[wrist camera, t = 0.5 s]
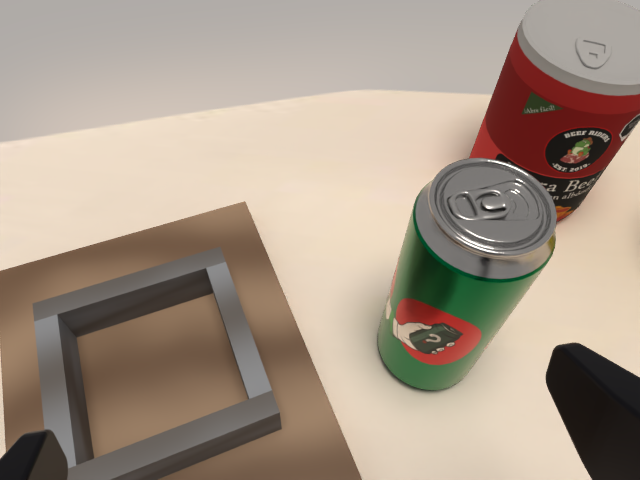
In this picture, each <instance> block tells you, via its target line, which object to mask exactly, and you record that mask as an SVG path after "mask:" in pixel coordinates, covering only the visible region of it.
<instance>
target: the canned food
mask: <svg viewBox="0 0 640 480" xmlns="http://www.w3.org/2000/svg"><path fill="white" fill-rule="evenodd" d="M639 121H640V10H638V9H636V8H634V7H632V6H630V5H627V4H624V3H621V2H619V1H616V0H540V1H538V2H537V3H535V4H534V5H532V6H531V7H530V8H529V9H528V10H527V11H526V13H525V15H524V17H523V19H522V21H521V23H520V25H519V27H518V29H517V32H516V35H515V37H514V40H513V42H512V44H511V47H510V49H509V52H508V55H507V57H506V60H505V63H504V66H503V68H502V71H501V74H500V76H499V79H498V82H497V85H496V87H495V90H494V93H493V95H492V98H491V101H490V103H489V106H488V109H487V111H486V114H485V117H484V120H483V122H482V125H481V128H480V130H479V133H478V136H477V138H476V141H475V144H474V147H473V149H472V152H471V155H470V157H469V158H490V159H496V160H500V161H504V162H507V163H510V164H512V165H515V166H517V167H519V168H521V169H523V170H525V171H526V172H528V173H529V174H531V175H532V176H533V177H535V178H536V179H537V180H538V181H539V182H540V183H541V184H542V185H543V186H544V187H545V188H546V190H547V191H548V192H549V194H550V195H551V197H552V199H553V202H554V204H555V208H556V213H557V221H559V220H561V219H563V218H564V217H566V216H567V215H569V214H570V213H572V212H573V211H574V210H575V209H576V208H577V207H579V206H580V204H581V203H582V201H583V200H584V198H585V197H586V196H587V194H588V193H589V191H590V190H591V189H592V187H593V186H594V184H595V183H596V181H597V180H598V179H599V177H600V176H601V174H602V173H603V172H604V170H605V169H606V167H607V166H608V164H609V163H610V162H611V160H612V159H613V157H614V156H615V155H616V153H617V152H618V150H619V149H620V148H621V146H622V145H623V143H624V142H625V140H626V139H627V138H628V136H629V135H630V133H631V132H632V131H633V129H634V128H635V126H636V125H637V123H638V122H639ZM557 221H556V222H557Z"/></svg>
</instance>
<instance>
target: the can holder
mask: <svg viewBox="0 0 640 480" xmlns="http://www.w3.org/2000/svg"><path fill="white" fill-rule="evenodd" d="M0 349H1V367H2V386H3V405H4V424H5V443H6V452H7V451H8V450H9V449H10V447H11V446H12V445H13V444H14V443H15V442H16V441H17V439H18V438H19V437H20V436H22V435H23V434H25V433H27V432H32V431H38V430H44V429H49V430H51V431H53V433H54V434H55V436H56V438H57V440H58V442H59V444H60V446H61V448H62V450H63V452H64V454H65V456H66V458H67V462H68V477H67V480H362V479H361V476H360V474H359V471H358V469H357V467H356V464H355V462H354V460H353V457H352V455H351V452H350V450H349V448H348V445H347V443H346V440H345V438H344V436H343V433H342V431H341V429H340V426H339V424H338V421H337V419H336V417H335V414H334V412H333V410H332V407H331V405H330V402H329V400H328V398H327V395H326V393H325V390H324V388H323V386H322V383H321V381H320V379H319V376H318V374H317V371H316V369H315V367H314V364H313V362H312V360H311V357H310V355H309V352H308V350H307V348H306V345H305V343H304V340H303V338H302V336H301V333H300V331H299V329H298V326H297V324H296V321H295V319H294V317H293V314H292V312H291V310H290V307H289V305H288V302H287V300H286V298H285V295H284V293H283V290H282V288H281V286H280V283H279V281H278V279H277V276H276V274H275V271H274V269H273V267H272V264H271V262H270V260H269V257H268V255H267V252H266V250H265V248H264V245H263V243H262V240H261V238H260V236H259V233H258V231H257V229H256V226H255V224H254V221H253V219H252V217H251V214H250V212H249V210H248V207H247V205H246V202H241V203H238V204H234V205H231V206H227V207H224V208H220V209H217V210H213V211H210V212H206V213H202V214H199V215H195V216H192V217H188V218H185V219H181V220H178V221H174V222H171V223H167V224H164V225H160V226H157V227H153V228H150V229H146V230H143V231H139V232H136V233H132V234H129V235H125V236H122V237H118V238H115V239H111V240H107V241H104V242H100V243H97V244H93V245H90V246H86V247H83V248H79V249H76V250H72V251H69V252H65V253H62V254H58V255H55V256H51V257H48V258H44V259H41V260H37V261H34V262H30V263H27V264H23V265H19V266H16V267H12V268H9V269H5V270H2V271H0Z"/></svg>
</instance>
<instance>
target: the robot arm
mask: <svg viewBox="0 0 640 480" xmlns="http://www.w3.org/2000/svg"><path fill="white" fill-rule="evenodd" d="M546 384H547V387H548V390H549V392H550V394H551V396H552V398H553V401H554V403H555V405H556V407H557V409H558V411H559V414H560V416H561V418H562V420H563V422H564V424H565V427H566V429H567V431H568V433H569V435H570V437H571V440H572V442H573V444H574V446H575V448H576V450H577V452H578V454H579V456H580V458H581V460H582V462H583V464H584V466H585V468H586V470H587V471H588V473H589V475H590V477H591V478H592V480H640V377H638V376H636V375H634V374H633V373H631V372H629V371H627V370H626V369H624V368H622V367H620V366H619V365H617V364H615V363H613V362H612V361H610V360H608V359H606V358H605V357H603V356H601V355H599V354H598V353H596V352H594V351H592V350H590V349H589V348H587V347H585V346H583V345H581V344H579V343H568V344H562V345H558V346H556V347H555V348H554V350H553V352H552V356H551V359H550V362H549V366H548V369H547V372H546ZM67 477H68V462H67V458H66V456H65V454H64V452H63V450H62V448H61V446H60V444H59V442H58V440H57V438H56V436H55V434H54V433H53V431H51V430H49V429H44V430H38V431H32V432H27V433H25V434H23V435H22V436H20V437H19V438H18V439H17V441H16V442H15V443H14V444H13V445H12V446H11V447H10V449H9V450H8V451H7V452H6V453H5V454H4V455H3V456H2V458H1V459H0V480H67Z"/></svg>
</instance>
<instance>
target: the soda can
mask: <svg viewBox="0 0 640 480" xmlns="http://www.w3.org/2000/svg"><path fill="white" fill-rule="evenodd" d="M556 221H557V213H556V208H555V204H554V202H553V199H552V197H551V195H550V194H549V192H548V191H547V190H546V188H545V187H544V186H543V185H542V184H541V183H540V182H539V181H538V180H537V179H536V178H535V177H533V176H532V175H531V174H529V173H528V172H526V171H525V170H523V169H521V168H519V167H517V166H515V165H512V164H510V163H507V162H504V161H500V160H496V159H490V158H469V159H464V160H460V161H457V162H454V163H452V164H450V165H448V166H446V167H445V168H444V169H442V170H441V171H440V172H439V173H438V174H437V175H436V177H435V178H434V179H433V180H432V181H431V182H429V183H428V184H427V185H426V186H425V187H424V188H423V189H422V190H421V191H420V193H419V194H418V196H417V198H416V201H415V203H414V206H413V210H412V213H411V217H410V220H409V224H408V227H407V231H406V234H405V238H404V242H403V245H402V249H401V252H400V256H399V259H398V263H397V266H396V270H395V273H394V277H393V280H392V284H391V287H390V291H389V295H388V298H387V302H386V305H385V309H384V312H383V316H382V319H381V323H380V326H379V330H378V347H379V352H380V354H381V357H382V359H383V361H384V363H385V364H386V366H387V367H388V369H389V370H390V371H391V372H392V373H393V374H394V375H395V376H396V377H397V378H399V379H400V380H401V381H403V382H405V383H407V384H408V385H411V386H413V387H416V388H420V389H424V390H441V389H445V388H449V387H451V386H453V385H455V384H457V383H458V382H460V381H461V380H462V379H463V378H464V377H465V376H466V375H467V374H468V372H469V371H470V369H471V368H472V367H473V365H474V364H475V363H476V361H477V360H478V358H479V357H480V356H481V354H482V353H483V351H484V350H485V349H486V347H487V346H488V345H489V343H490V342H491V340H492V339H493V338H494V336H495V335H496V333H497V332H498V331H499V329H500V328H501V327H502V325H503V324H504V322H505V321H506V320H507V318H508V317H509V315H510V314H511V313H512V311H513V310H514V309H515V307H516V306H517V304H518V303H519V302H520V300H521V299H522V297H523V296H524V295H525V293H526V292H527V290H528V289H529V288H530V286H531V285H532V284H533V282H534V281H535V279H536V278H537V277H538V275H539V274H540V272H541V271H542V270H543V268H544V267H545V266H546V264H547V263H548V261H549V260H550V258H551V256H552V254H553V251H554V249H555V242H556V236H555V228H556Z"/></svg>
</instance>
